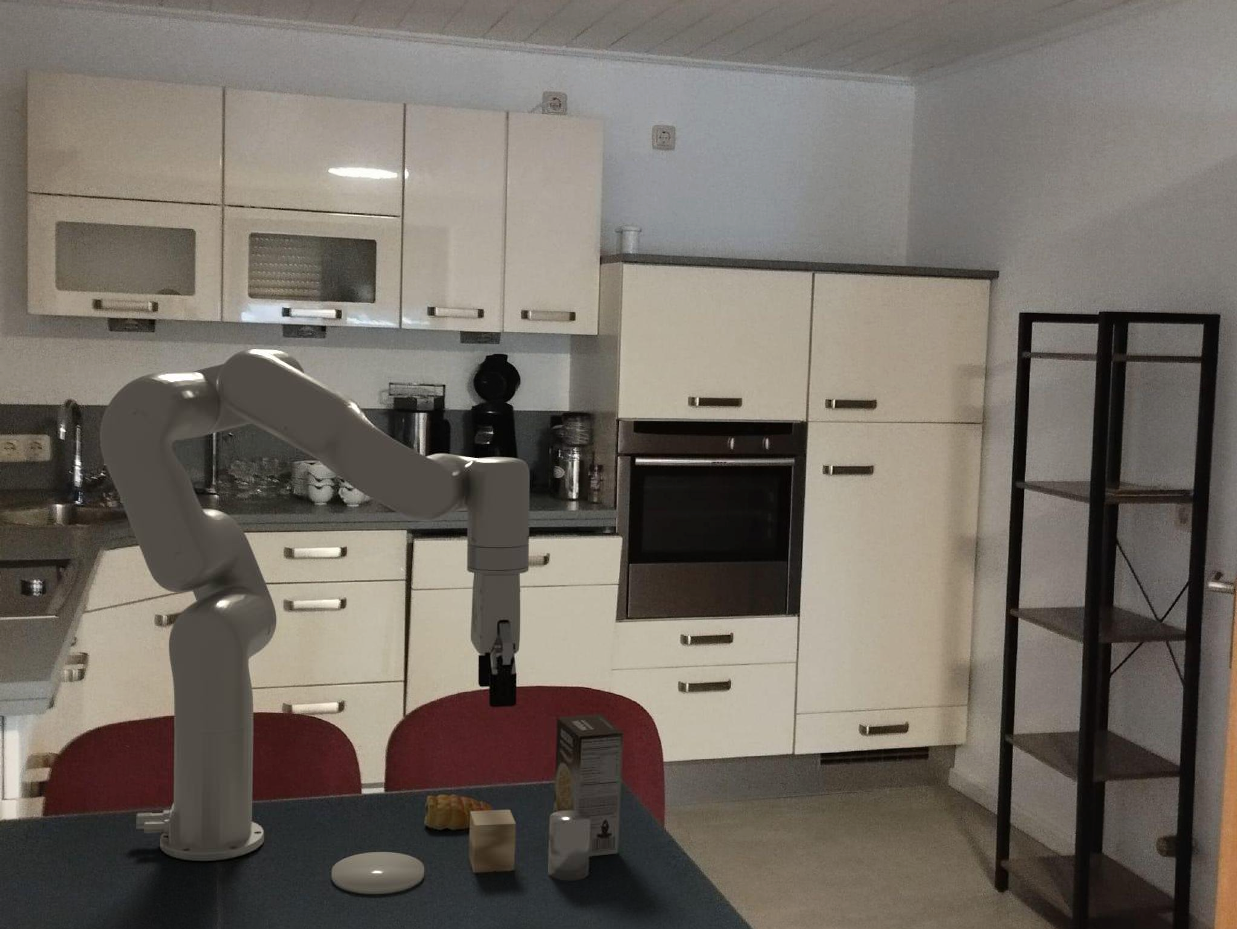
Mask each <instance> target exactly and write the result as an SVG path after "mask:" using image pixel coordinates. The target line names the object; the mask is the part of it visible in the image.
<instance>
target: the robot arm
mask: <svg viewBox="0 0 1237 929" xmlns="http://www.w3.org/2000/svg"><path fill="white" fill-rule="evenodd" d="M102 416H103V417H102V418H101V423H100V428H99V444H100V450H101V455H102V457H103V461H104V464H105V466H106V469H107V472H108V473H109V475H110V478H111V480H112V483H113V485H114V486H115V489H116V491H117V493H118V496H119V499H120V500H121V502H122V506H123V508H124V510H125V513H126V516H127V519H128V521H129V524H130V526H131V529H132V530H133V534H134V537H135V538H136V541H137V543H138V545H139V548H140V551H141V553H142V556H143V558H144V561H145V563H146V566H147V570H149V571H148V572H150V575H151V577H152V578H153V580H154V581H155V583H157V584H158V585H159V587H161V588H163V589H164V590H166V591H169V592H173V593H187V592H192V593H193V596H194V598H195V600H196V601H195V602H193V603H192V604H190V605H189V606H187V607H185V609H184V610H182V612H181V613H180V614H179V616H178V617H177V618H176V620H175V621H174V623H173V625H172V627H171V630H170V634H169V639H168V654H169V662H170V669H171V674H172V675H171V676H172V682H173V683H172V684H173V685H172V686H173V704H174V705H173V706H174V709H173V710H174V712H173V713H174V714H173V715H174V716H173V718H174V719H173V724H174V734H173V735H174V737H173V738H174V744H173V750H174V751H173V752H174V753H173V754H174V756H173V759H174V760H173V803H172V805H171V809H164V810H163V811H162V812H156V813H153V812H138V813H137V814H136V820H135V821H136V822H135V823H136V824H135V826H136V830H137V829H140V830H141V829H143V832H144V834H155V833H162V834H161V836H160V837H159V838H160V840H159V841H160V842H159V843H160V844H159V846H160V849H161V851H162V852H163V853H165V854H166V855H168V856H170V857H173V858H175V859H178V860H179V859H180V860H184V861H192V862H193V861H195V862H196V861H197V862H209V861H222V860H227V859H234V858H237V857H241V856H245V855H247V854H249V853H252V852H253V851H256V850H257V849H258V848H259V847H261V845H263V843H264V842H265V830H264V829H263V827H262V826H261V825H259V824H258V823H256V822H254V821H253V777H254V775H253V770H254V769H253V767H254V766H253V765H254V763H253V762H254V761H253V760H254V694H253V687H252V679H251V674H250V666H249V663H250V661H249V659H250V658H251V657H253V656H254V655H256V654H258V653H259V652H261V651H262V650H263V649H264V648H265V647H266V646H267V645H268V644H269V643H270V642H271V641H272V638H273V636H274V634H275V632H276V629H277V612H276V608H275V604H274V602H273V599H272V595H271V593H270V591H269V589H268V586H267V583H266V581H265V578H264V576H263V574H262V571H261V569H260V566H259V564H258V561H257V558H256V556H255V554H254V551H253V549H252V545H251V544H250V542H249V539H248V538H247V535H246V533H245V532H244V529H242V527H241V526H240V525H239V524H238V523H237V522H236V520H235V519H234V518H232V517H231V516H230V515H228V514H227V513H225V512H222V511H220V510H218V509H213V508H212V509H211V508H203V507H202V506H201V503H200V501H199V499H198V496H197V493H196V492H195V489H194V487H193V486H194V485H193V483H192V480H191V478H190V477H189V474H188V473H187V471H186V470H185V468H184V466H183V464H182V463H181V462H180V460H179V459H178V458H177V456H176V454H175V453H174V450H173V443H174V442H175V441H181V440H182V441H183V440H187V439H194V438H198V437H204V436H208V435H211V434H215V433H219V432H223V431H227V430H230V429H234V428H238V427H243V426H246V425H250V424H252V425H254V426H256V427H258V428H259V429H262V430H264V431H265V432H268V433H269V434H271V435H273V436H274V437H276V438H278V439H280V440H282V441H284V442H286V443H287V444H289V445H291V446H292V447H295V448H296V449H298V450H300V451H301V452H304V453H306V454H307V455H308V456H311V457H313V458H314V459H316V460H317V461H319V462H321V464H323V465H324V466H325V467H326V468H327V469H328V470H329V471H331V472H333V474H335V475H337V476H338V477H339V478H341V479H342V480H343V481H344V482H346V483H347V484H348V485H349V486H351V487H353V488H354V489H355V490H357V491H359V492H360V493H362V494H364V495H365V496H367V497H369V498H371V499H372V500H374V501H375V502H378V503H380V504H381V505H383V506H385V507H387V508H389V509H391V510H393V511H394V512H397V513H398V514H400V515H402V516H404V517H406V518H408V519H411V520H415V521H419V522H427V523H428V522H435V521H437V520H440V519H443V518H444V517H446V516H448V515H450V514H454V513H456V512H467V532H466V533H467V539H466V541H467V543H466V544H467V547H466V548H467V549H466V552H467V553H466V556H467V558H466V560H467V561H466V563H467V566H466V570H467V572H468V573H472V574H473V580H472V596H471V617H470V618H471V622H470V641H471V643H472V645H473V647H474V649H475V650H476V651H477V653H478V654H479V655H478V657H477V658H478V664H477V665H478V667H477V668H478V670H477V671H478V673H477V674H478V675H477V676H478V679H477V680H478V681H477V683H478V685H479V687H481V688H487V687H488V704H489V706H490V707H491V708H502V707H503V708H505V707H515V706H516V705H517V668H516V667H517V665H516V658H515V656H516V654H517V653H518V652H519V650H520V640H521V639H520V638H521V575H520V574H525V573H527V572H528V571H529V569H530V568H529V566H530V565H529V564H530V563H529V562H530V558H529V556H530V552H529V550H530V545H529V544H530V480H531V479H530V478H531V477H530V469H529V465H528V464H527V462H526V461H525V460H522V459H521V458H516V457H507V456H506V457H505V456H503V457H502V456H492V457H491V456H490V457H478V458H477V457H476V458H475V457H469V456H464V455H458V454H457V455H456V454H450V453H434V454H430V455H427V456H425V455H424V454H421V453H420V452H417V451H416V450H414V449H412V448H410V447H409V446H407V445H405V444H403V443H401V442H399V441H398V440H396V439H394V438H392V437H391V436H389V435H388V434H386V433H385V432H384V431H381V430H380V429H379V428H378V427H376V426H375V425H374V424H373V423H372V422H371V421H370V420H369V418H368V417H367V416H366V414H365V412H364V411H363V409H362V407H361V406H360V404H358V402H356V401H355V400H354V399H352V398H351V397H349V396H347V395H345V394H343V393H341V392H340V391H338V390H336V389H334V388H333V387H331V386H328V385H326V384H325V383H324V382H322V381H320V380H317V379H315V378H314V377H312V376H310V375H309V374H307V373H305V371H304V368H303V367H302V365H301V364H300V363H299V361H297V360H296V358H295V357H293V356H291V355H290V354H288V353H286V352H284V351H281V350H276V349H246V350H241V351H240V352H237V353H234V354H233V355H231V357H229V358H228V359H227V360H226V361H225V362H224V363H221V364H217V365H213V366H209V367H206V368H202V369H197V370H192V371H186V372H155V373H149V374H146V375H143V376H142V375H141V376H140V377H137V378H135V379H133V380H131V381H130V382H128V383H125V385H124V386H123V387H122V388H120V390H118V391H117V393H115V395H114V396H113V397H112V398H111V400H110V402H109V403H108V404H107V406H106V408H105V411H104V414H103V415H102Z"/></svg>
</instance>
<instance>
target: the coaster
mask: <svg viewBox="0 0 1237 929" xmlns="http://www.w3.org/2000/svg"><path fill="white" fill-rule="evenodd" d="M424 878H425V866H424V864H423V863H422V861H420V860H419V859H417V858H416V857H415V856H414V857H413V856H412V855H408V854H404V853H400V852H399V853H398V852H389V851H375V852H373V851H372V852H365V853H363V852H362V853H358V854H354V855H350V856H348V857H346V858H342V859H341V860H339V861H338V862H336V863H335V864H334V865H333V866H332V868H331V881H332V883H333V884H334V885H335V886H336V887H338V888H340V889H342V890H344V891H348V892H351V893H355V894H356V893H357V894H365V895H382V894H383V895H384V894H385V895H386V894H394V893H397V892H403V891H406V890H408V889H411V888H413V887H416V885H418V884H420V883H421V882H422V881H423V879H424Z"/></svg>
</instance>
